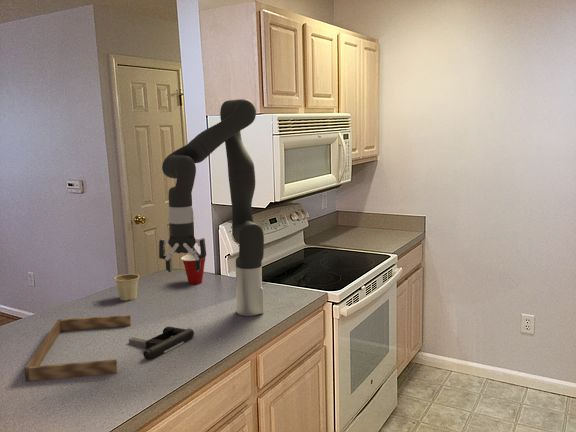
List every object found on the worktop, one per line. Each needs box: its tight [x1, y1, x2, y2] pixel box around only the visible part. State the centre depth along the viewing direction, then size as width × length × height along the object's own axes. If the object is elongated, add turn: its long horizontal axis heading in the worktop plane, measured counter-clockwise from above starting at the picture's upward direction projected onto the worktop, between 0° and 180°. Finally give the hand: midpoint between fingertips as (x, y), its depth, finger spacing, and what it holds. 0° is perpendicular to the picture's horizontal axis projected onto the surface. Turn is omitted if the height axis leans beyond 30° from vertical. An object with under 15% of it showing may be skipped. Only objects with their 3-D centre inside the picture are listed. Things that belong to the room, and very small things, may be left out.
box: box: [24, 314, 132, 382], centre depth 154 cm, size 23×36×4 cm, turn 11°
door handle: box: [128, 326, 195, 360], centre depth 158 cm, size 3×20×16 cm
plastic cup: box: [181, 252, 207, 285], centre depth 220 cm, size 11×11×12 cm
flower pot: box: [114, 273, 140, 301], centre depth 200 cm, size 9×9×9 cm
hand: (183, 271), depth 160 cm, fingers open, 8 cm apart
